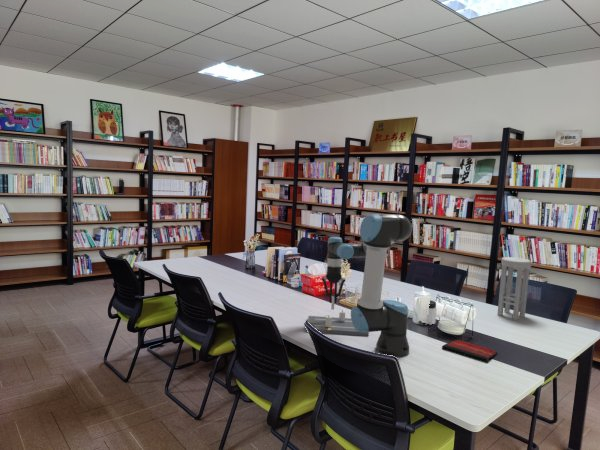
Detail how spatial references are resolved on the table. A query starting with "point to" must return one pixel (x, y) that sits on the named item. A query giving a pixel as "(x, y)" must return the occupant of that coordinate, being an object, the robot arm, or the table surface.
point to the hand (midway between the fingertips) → (332, 308)
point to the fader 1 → (328, 320)
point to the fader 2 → (342, 315)
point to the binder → (470, 350)
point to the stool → (520, 264)
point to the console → (335, 326)
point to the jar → (431, 313)
